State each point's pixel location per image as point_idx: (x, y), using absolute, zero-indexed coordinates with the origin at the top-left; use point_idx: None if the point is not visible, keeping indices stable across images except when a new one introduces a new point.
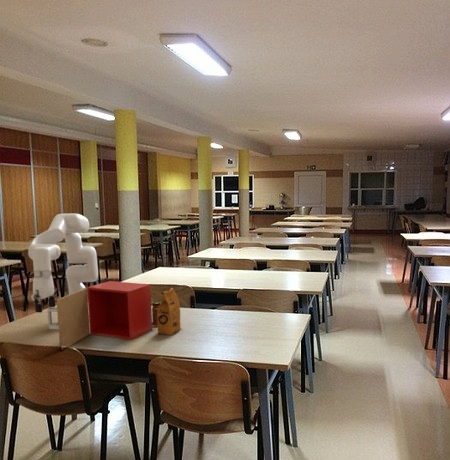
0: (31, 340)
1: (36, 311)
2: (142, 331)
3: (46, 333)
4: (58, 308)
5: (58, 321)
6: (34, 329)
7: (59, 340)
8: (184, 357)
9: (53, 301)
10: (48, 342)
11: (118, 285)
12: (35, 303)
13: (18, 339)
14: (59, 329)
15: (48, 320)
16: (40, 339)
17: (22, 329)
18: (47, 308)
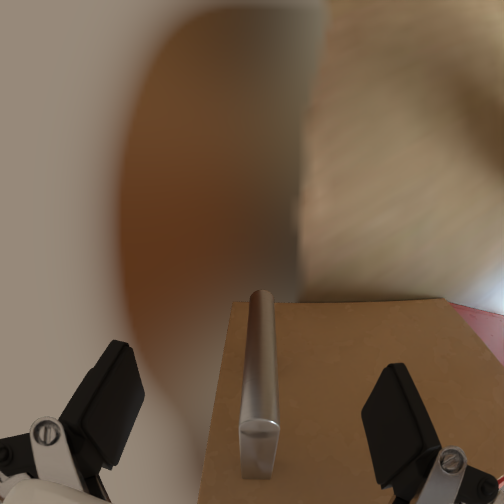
0: (363, 79)
1: (114, 351)
2: None
3: (457, 111)
4: (202, 488)
5: (213, 409)
6: (480, 46)
7: (228, 329)
8: None
9: (375, 460)
10: (346, 181)
11: (501, 485)
12: (44, 436)
13: (362, 16)
14: (221, 373)
15: (247, 333)
16: (384, 117)
17: (465, 4)
18: (241, 420)
